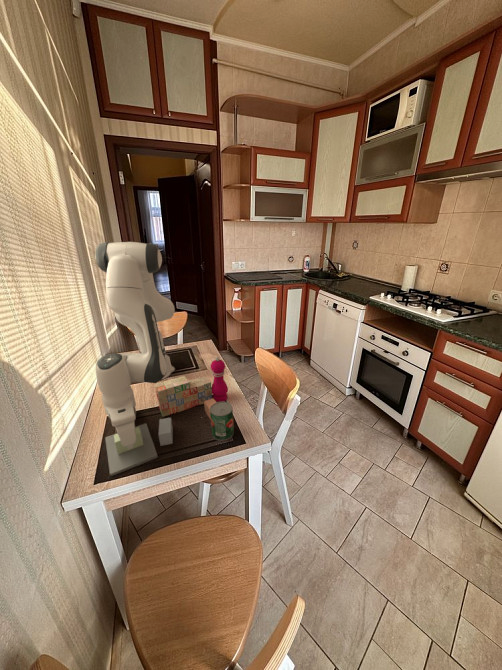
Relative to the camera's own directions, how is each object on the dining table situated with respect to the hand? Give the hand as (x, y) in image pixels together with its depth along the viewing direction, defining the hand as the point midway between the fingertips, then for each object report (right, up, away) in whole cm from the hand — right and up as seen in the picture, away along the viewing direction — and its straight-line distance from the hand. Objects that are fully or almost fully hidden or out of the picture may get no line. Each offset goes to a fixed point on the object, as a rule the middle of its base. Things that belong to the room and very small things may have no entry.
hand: (128, 437), depth 91 cm
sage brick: (0, -3, +1) cm, 3 cm away
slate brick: (+11, -2, +6) cm, 13 cm away
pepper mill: (+28, +7, +27) cm, 40 cm away
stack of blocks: (+14, +5, +24) cm, 28 cm away
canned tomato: (+31, -1, +8) cm, 32 cm away
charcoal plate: (0, -4, +2) cm, 4 cm away
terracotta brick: (+26, +3, +17) cm, 31 cm away
